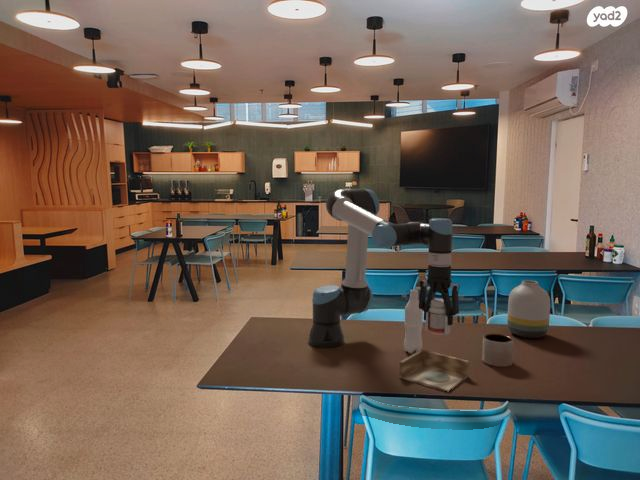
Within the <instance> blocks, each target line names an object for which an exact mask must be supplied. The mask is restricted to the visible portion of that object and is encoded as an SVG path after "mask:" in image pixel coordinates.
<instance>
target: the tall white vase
mask: <svg viewBox="0 0 640 480" xmlns="http://www.w3.org/2000/svg"><path fill="white" fill-rule="evenodd" d="M409 293H410V294H409V300H408V302H407V303H406V305H405V306H404V307H405V308H404V322H403V324H404V325H403V326H404V329H405V330H404V332H405V335H404V340H403V347H404V350H405V352H408V353H409V354H414V353H416V352H418V351H420V350H421V349H422V348H423V340H422V339H423V337H422V330H423V325H424V324H423V320H424V311H423V310H422V309H419V298H420V295H419V290H418V289H410V292H409Z"/></svg>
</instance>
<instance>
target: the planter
mask: <svg viewBox="0 0 640 480" xmlns="http://www.w3.org/2000/svg"><path fill="white" fill-rule="evenodd" d="M514 342H515V341H514V338H513V337H512V336H509V335H506V334H504V333H503V334H502V333H493V332H492V333H486V334H483V336H482V349H481V352H482V353H481V361H482V362H483V363H485V364H486V365H488V366H491V367H496V368H506V367H510V366H512V365H513V362H514Z"/></svg>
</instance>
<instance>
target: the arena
mask: <svg viewBox="0 0 640 480" xmlns="http://www.w3.org/2000/svg"><path fill="white" fill-rule="evenodd" d="M469 364H470V362H469V360H466V359H463V358H458V357H454V356H452V355H451V356H450V355H448V354H443V353H439V352H435V351H430V350H427V349H422V348H421V350H420V351H418V352H413V353H412V354H411V355H409V356H407V357H406V358H404V359H402V360H400V361H399V379H402V380H406V381H409V382H412V383H415V384H419V385H422V386H425V387H430V388H433V389H435V390H438V389H439V391H442V390H443V391H442V392H445V391H447V392H446V393H450V392H451V391H452V390H454V389H455V388H456V387H457V386H458V385H460V384H461V383H462V382H464V381H465V380H466V379H467V378H468V377H469V368H470V367H469V366H470V365H469ZM451 389H452V390H451ZM450 390H451V391H450ZM449 391H450V392H449Z"/></svg>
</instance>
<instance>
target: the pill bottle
mask: <svg viewBox="0 0 640 480" xmlns="http://www.w3.org/2000/svg"><path fill="white" fill-rule="evenodd" d="M446 315H447V312H446V308H445V304H444V300H443V298H434V299H431V307H430V309H429V331H428V332H429V334H432V335H435V336H443V335H444V332H445V316H446ZM444 336H445V335H444Z"/></svg>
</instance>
